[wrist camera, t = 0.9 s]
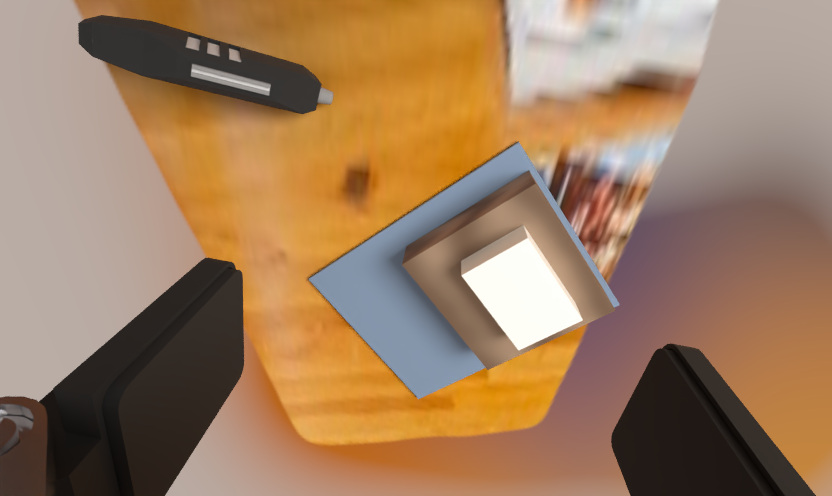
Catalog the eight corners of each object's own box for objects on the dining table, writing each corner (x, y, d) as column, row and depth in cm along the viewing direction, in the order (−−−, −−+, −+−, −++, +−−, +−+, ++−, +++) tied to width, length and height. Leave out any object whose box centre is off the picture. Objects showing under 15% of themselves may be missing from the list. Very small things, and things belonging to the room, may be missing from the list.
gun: (311, 90, 41) (333, 125, 33) (104, 35, 33) (71, 64, 26) (318, 59, 40) (342, 89, 32) (104, -5, 32) (69, 12, 24)
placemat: (518, 141, 36) (519, 142, 35) (618, 302, 42) (619, 304, 41) (309, 277, 44) (308, 279, 43) (419, 396, 50) (418, 398, 49)
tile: (523, 224, 35) (527, 238, 33) (575, 303, 38) (582, 320, 35) (461, 260, 37) (461, 275, 34) (515, 332, 40) (518, 350, 37)
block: (528, 170, 36) (535, 183, 33) (603, 288, 41) (615, 310, 38) (406, 246, 41) (401, 264, 37) (485, 346, 45) (487, 369, 42)
